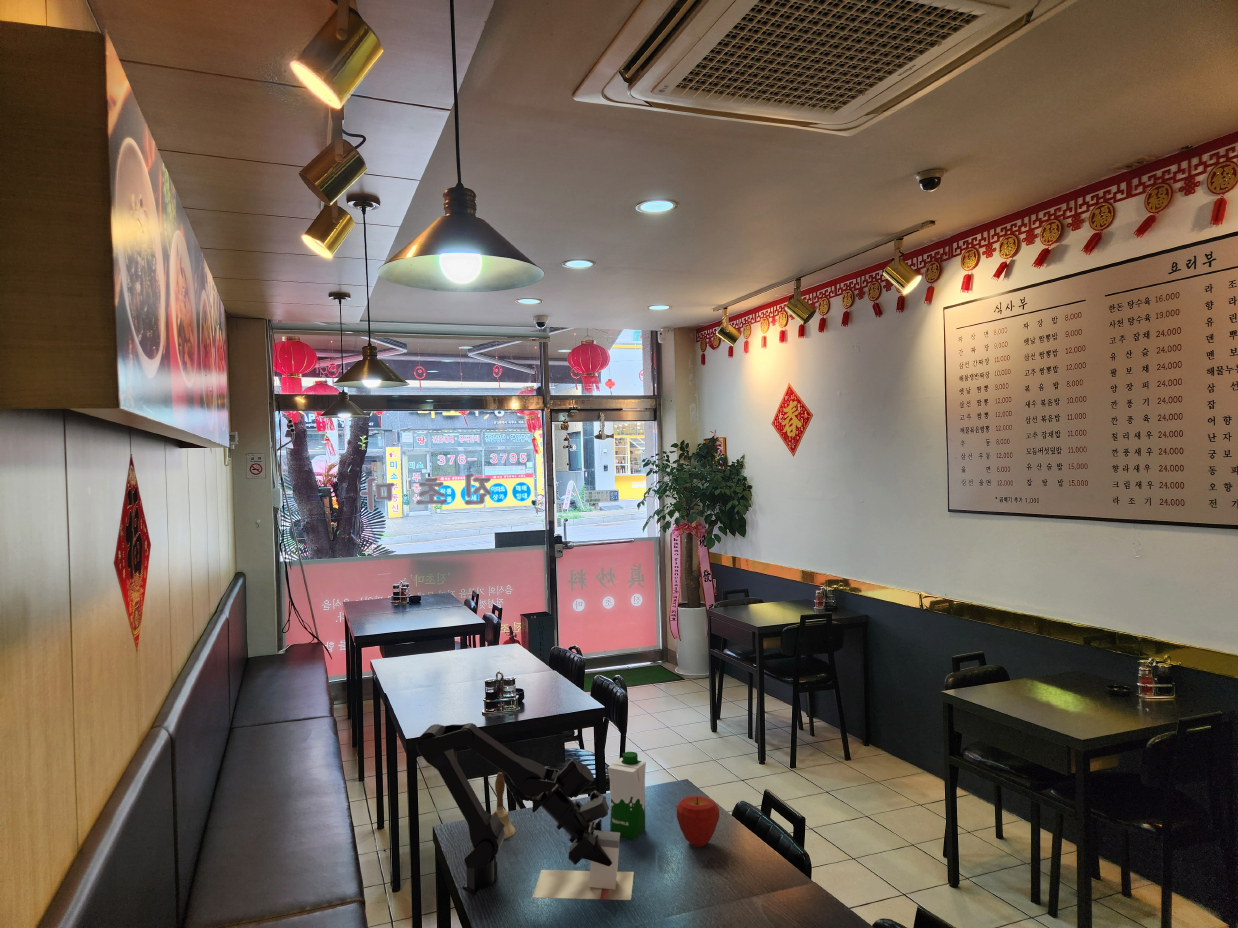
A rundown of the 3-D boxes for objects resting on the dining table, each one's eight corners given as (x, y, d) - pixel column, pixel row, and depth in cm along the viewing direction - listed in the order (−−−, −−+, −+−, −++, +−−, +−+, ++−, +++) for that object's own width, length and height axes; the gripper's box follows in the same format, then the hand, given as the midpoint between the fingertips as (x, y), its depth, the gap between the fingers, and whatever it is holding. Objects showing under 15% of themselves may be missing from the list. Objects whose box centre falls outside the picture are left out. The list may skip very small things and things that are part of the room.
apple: (727, 849, 195) (726, 801, 195) (689, 857, 191) (688, 808, 191) (706, 830, 205) (705, 785, 205) (670, 838, 201) (669, 791, 201)
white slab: (588, 886, 175) (592, 837, 175) (590, 877, 179) (594, 829, 179) (615, 889, 175) (618, 840, 175) (616, 880, 179) (620, 832, 179)
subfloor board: (532, 901, 172) (532, 896, 172) (541, 873, 184) (541, 869, 184) (630, 904, 170) (630, 899, 170) (633, 875, 182) (633, 871, 182)
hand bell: (518, 825, 209) (517, 766, 210) (511, 840, 201) (510, 778, 201) (488, 825, 210) (488, 766, 210) (480, 839, 202) (479, 778, 202)
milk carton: (649, 828, 207) (648, 753, 207) (634, 843, 199) (633, 765, 199) (620, 822, 211) (619, 748, 211) (604, 836, 203) (603, 759, 203)
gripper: (582, 803, 168) (634, 855, 167) (592, 770, 187) (638, 817, 186) (547, 838, 168) (598, 891, 168) (560, 802, 187) (605, 849, 186)
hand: (611, 859), depth 177 cm, fingers closed on white slab, 4 cm apart
